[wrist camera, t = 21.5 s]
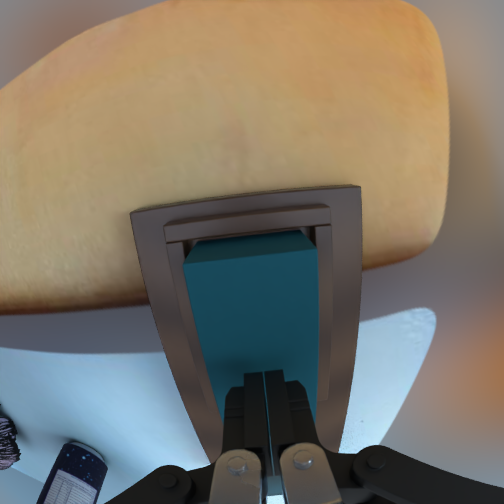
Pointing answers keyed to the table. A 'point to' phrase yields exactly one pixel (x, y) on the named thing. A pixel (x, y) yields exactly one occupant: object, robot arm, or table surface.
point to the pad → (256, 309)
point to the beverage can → (74, 476)
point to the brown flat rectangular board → (251, 223)
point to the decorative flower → (8, 443)
